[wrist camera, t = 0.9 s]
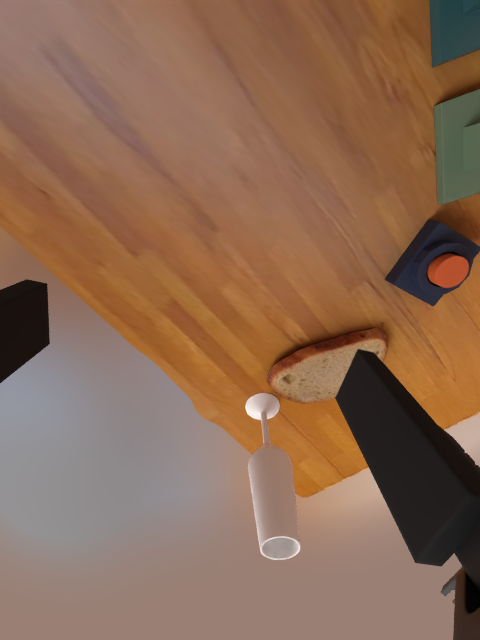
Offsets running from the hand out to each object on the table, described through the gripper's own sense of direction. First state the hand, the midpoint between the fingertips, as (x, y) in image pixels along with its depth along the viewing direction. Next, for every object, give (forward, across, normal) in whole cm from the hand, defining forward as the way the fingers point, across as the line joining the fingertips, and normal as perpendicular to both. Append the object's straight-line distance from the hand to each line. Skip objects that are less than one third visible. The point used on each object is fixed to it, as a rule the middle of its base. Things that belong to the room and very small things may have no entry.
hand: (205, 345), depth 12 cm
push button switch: (+33, +30, +4) cm, 45 cm away
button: (+29, +30, +3) cm, 42 cm away
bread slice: (+33, +22, -17) cm, 43 cm away
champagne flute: (+33, +13, -29) cm, 46 cm away
